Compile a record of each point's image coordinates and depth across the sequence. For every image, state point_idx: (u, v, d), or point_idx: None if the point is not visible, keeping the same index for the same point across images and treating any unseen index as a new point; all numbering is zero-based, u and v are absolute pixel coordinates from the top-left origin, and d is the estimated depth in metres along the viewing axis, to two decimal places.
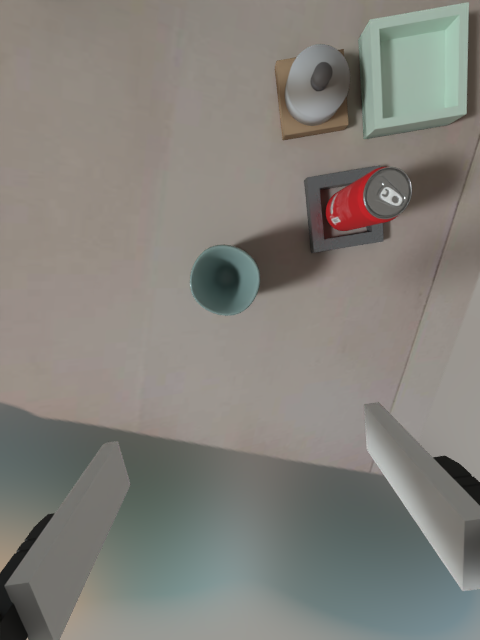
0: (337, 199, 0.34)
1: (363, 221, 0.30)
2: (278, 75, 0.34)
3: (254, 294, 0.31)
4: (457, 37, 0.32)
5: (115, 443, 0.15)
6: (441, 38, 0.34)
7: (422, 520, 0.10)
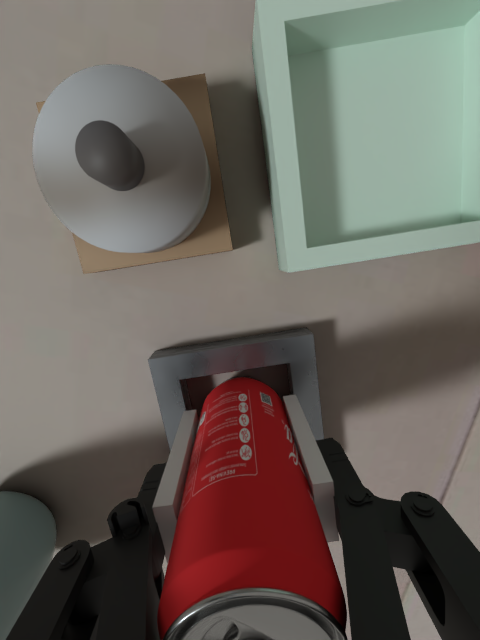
0: (192, 451, 0.13)
1: None
2: None
3: None
4: None
5: (194, 411, 0.16)
6: (454, 46, 0.14)
7: None
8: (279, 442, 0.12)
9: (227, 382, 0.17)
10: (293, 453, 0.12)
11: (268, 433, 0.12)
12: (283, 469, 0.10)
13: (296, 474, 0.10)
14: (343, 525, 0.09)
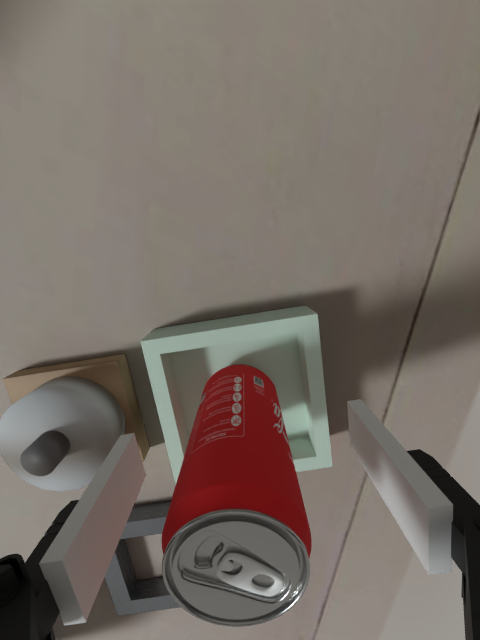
0: (193, 425, 0.16)
1: None
2: (12, 397, 0.20)
3: None
4: (305, 360, 0.18)
5: (131, 435, 0.15)
6: (290, 335, 0.20)
7: (396, 510, 0.11)
8: (266, 415, 0.14)
9: (225, 368, 0.19)
10: (278, 424, 0.14)
11: (257, 407, 0.14)
12: (266, 433, 0.12)
13: (278, 439, 0.12)
14: (470, 551, 0.07)
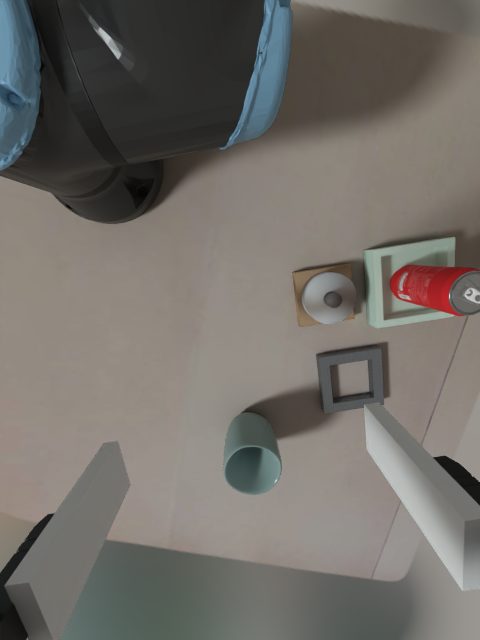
0: (409, 281, 0.36)
1: (442, 311, 0.32)
2: (295, 282, 0.40)
3: (276, 479, 0.38)
4: (446, 260, 0.39)
5: (114, 443, 0.15)
6: (433, 252, 0.40)
7: (422, 520, 0.10)
8: None
9: (405, 266, 0.39)
10: None
11: None
12: None
13: None
14: None
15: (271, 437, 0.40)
